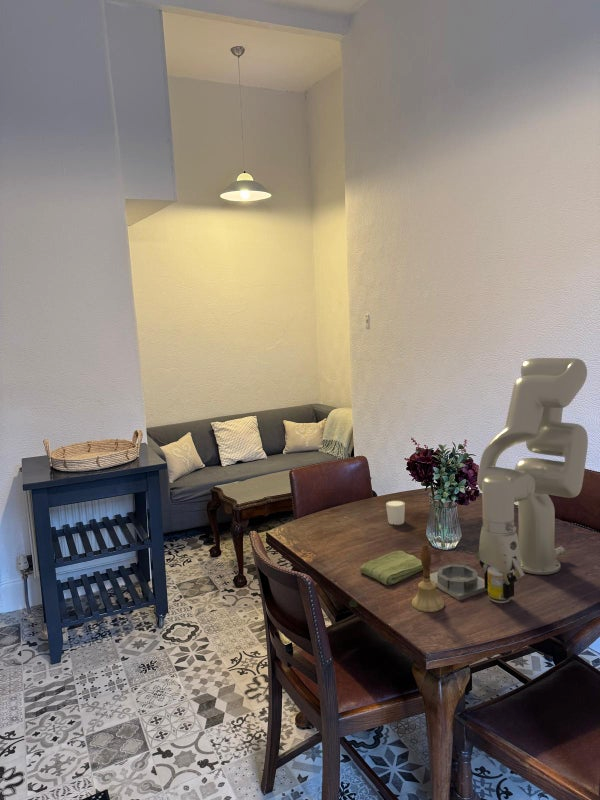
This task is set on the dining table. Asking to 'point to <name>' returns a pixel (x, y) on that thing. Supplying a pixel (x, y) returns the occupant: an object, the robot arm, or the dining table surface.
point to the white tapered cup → (395, 512)
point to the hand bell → (427, 587)
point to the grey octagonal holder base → (458, 581)
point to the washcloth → (392, 567)
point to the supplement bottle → (496, 585)
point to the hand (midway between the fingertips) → (499, 591)
